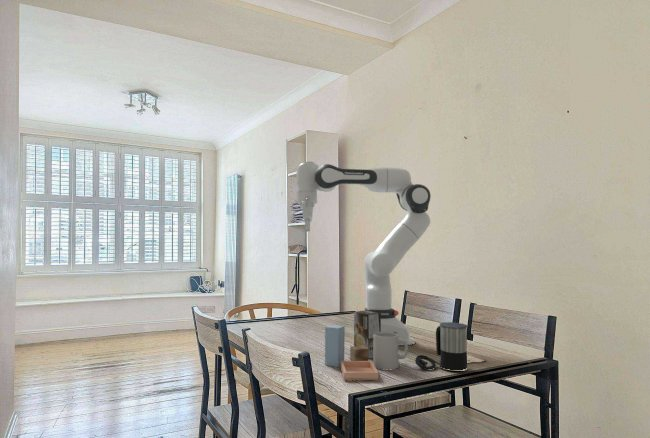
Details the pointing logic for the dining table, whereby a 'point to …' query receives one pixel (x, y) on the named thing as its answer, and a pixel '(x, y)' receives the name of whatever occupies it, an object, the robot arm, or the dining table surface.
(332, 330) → the slate block
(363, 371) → the tray
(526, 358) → the dining table surface
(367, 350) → the walnut cube
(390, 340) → the mug
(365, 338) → the coffee box
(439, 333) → the milk frother
